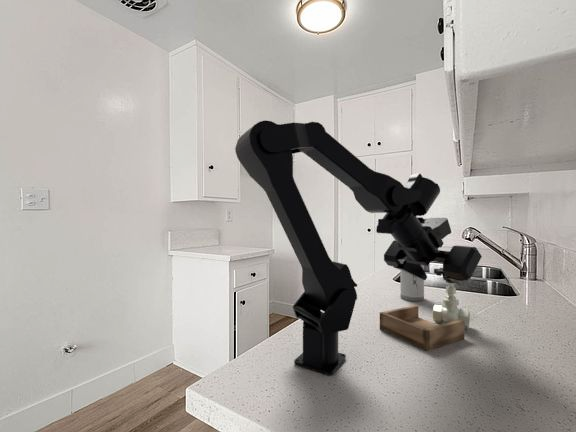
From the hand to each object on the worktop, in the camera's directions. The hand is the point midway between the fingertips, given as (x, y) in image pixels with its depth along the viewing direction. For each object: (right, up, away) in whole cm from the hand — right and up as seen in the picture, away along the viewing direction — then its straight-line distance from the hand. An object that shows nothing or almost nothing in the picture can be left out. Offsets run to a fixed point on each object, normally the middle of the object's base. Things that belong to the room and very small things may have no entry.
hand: (444, 282), depth 61 cm
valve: (+2, -10, +1) cm, 10 cm away
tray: (-7, -9, -4) cm, 12 cm away
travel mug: (+2, -10, +22) cm, 24 cm away
